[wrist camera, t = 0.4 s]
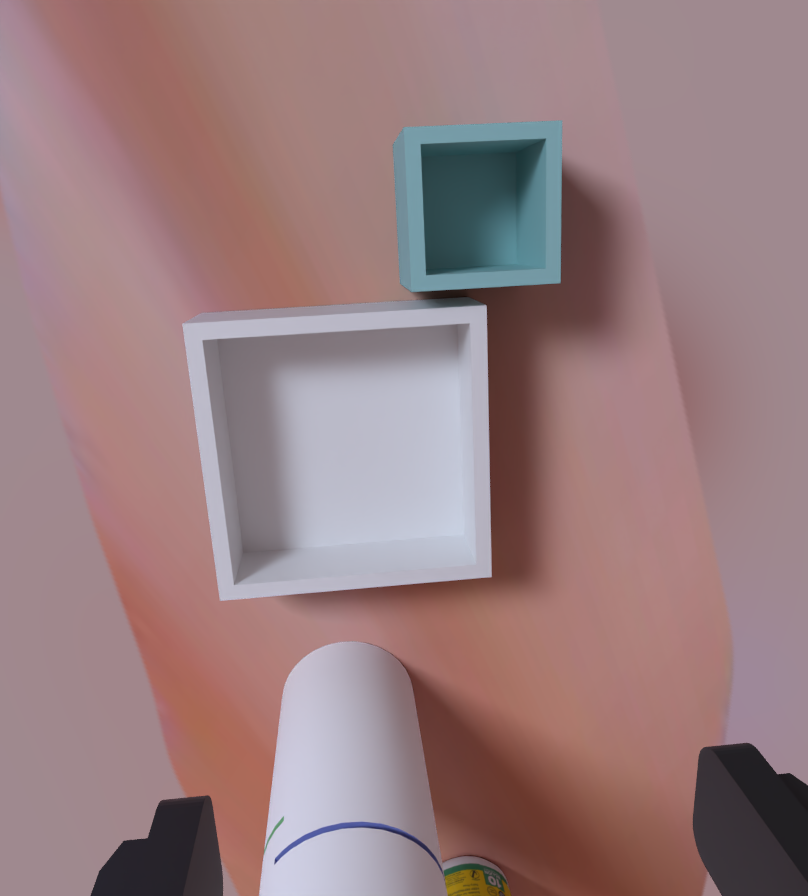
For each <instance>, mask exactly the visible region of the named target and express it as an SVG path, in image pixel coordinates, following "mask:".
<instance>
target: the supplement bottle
mask: <svg viewBox="0 0 808 896" xmlns="http://www.w3.org/2000/svg"><path fill="white" fill-rule="evenodd" d="M442 865H443V871H444V877H445V883H446V889H447V895H448V896H511V892H510V889H509V886H508V882H507V879H506V877H505V875H504V874H503V872H502V871H501V870H500V868H499V867H497V866H496V865H494V864H493V863H491V862H489V861H487V860H485V859H483V858H480V857H475V856H461V857H456V858H453V859H450V860H447V861H445V862H443V863H442Z"/></svg>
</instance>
